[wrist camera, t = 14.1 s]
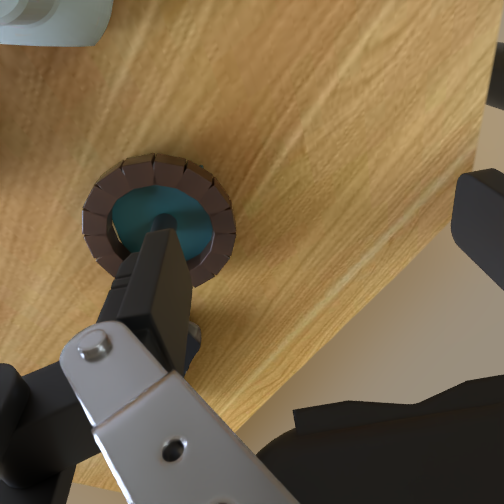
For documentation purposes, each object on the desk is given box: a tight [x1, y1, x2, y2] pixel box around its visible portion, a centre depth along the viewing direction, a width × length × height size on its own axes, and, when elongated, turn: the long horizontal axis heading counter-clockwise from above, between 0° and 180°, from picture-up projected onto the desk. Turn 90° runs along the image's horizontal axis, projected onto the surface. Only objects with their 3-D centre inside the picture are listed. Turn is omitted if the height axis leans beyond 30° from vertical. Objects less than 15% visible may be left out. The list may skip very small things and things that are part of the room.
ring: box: [82, 153, 236, 289], centre depth 36 cm, size 14×14×2 cm
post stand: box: [112, 165, 213, 262], centre depth 34 cm, size 10×10×11 cm
